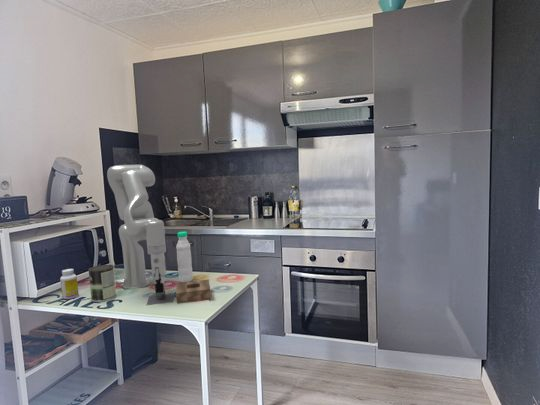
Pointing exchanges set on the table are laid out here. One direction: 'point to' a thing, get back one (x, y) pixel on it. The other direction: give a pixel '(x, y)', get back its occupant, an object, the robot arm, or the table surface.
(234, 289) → the table surface
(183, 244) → the water bottle
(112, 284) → the coffee can
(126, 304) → the table surface
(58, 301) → the table surface
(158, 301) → the rubber mat
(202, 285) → the brown peg hole board
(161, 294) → the steel peg
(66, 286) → the supplement bottle
